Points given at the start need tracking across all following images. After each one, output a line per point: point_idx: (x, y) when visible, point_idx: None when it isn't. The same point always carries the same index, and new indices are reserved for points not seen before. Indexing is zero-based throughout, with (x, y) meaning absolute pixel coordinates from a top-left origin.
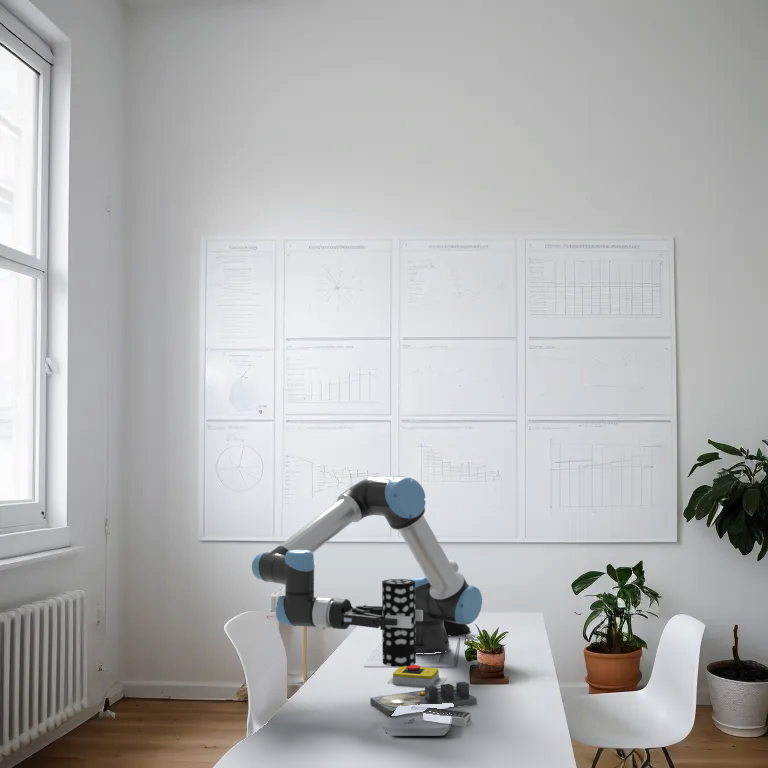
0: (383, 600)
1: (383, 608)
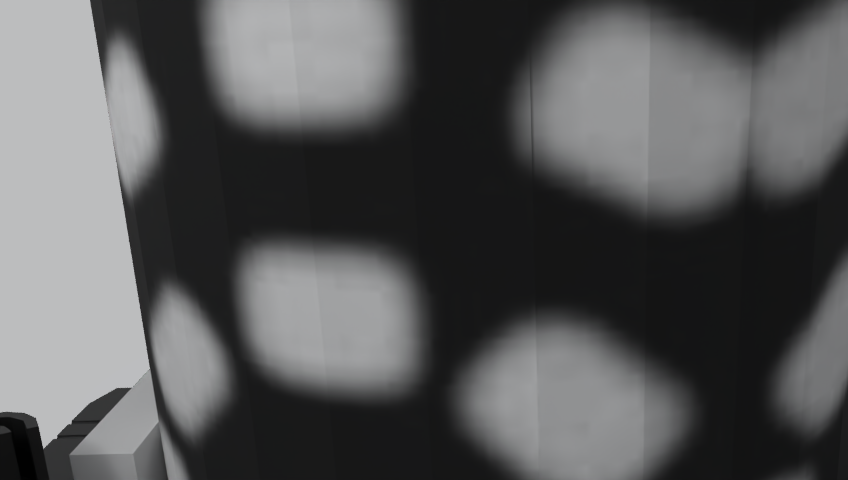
0: (846, 156)
1: (823, 383)
